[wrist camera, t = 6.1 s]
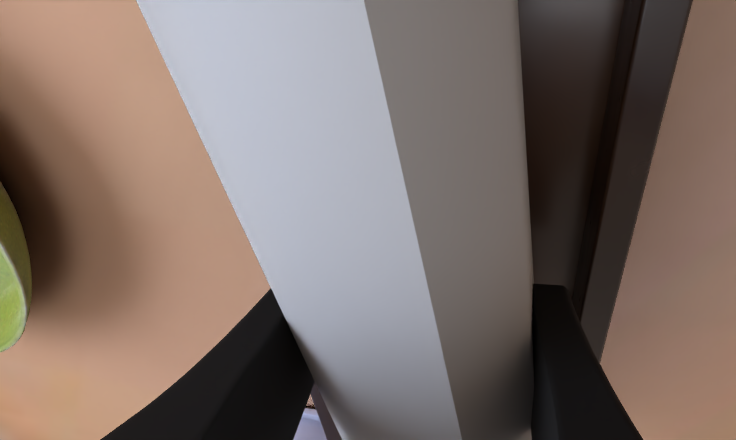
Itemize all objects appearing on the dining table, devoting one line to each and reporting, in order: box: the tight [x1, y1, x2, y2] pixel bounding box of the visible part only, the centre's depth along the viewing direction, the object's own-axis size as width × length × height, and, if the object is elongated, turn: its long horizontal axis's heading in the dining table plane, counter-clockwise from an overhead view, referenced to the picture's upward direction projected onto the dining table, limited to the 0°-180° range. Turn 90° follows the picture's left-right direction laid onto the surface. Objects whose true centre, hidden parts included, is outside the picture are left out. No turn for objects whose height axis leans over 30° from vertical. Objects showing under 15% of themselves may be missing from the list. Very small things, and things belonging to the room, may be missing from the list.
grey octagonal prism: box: [136, 0, 534, 440], centre depth 11 cm, size 5×5×25 cm
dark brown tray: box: [310, 0, 693, 440], centre depth 14 cm, size 9×24×5 cm, turn 8°
